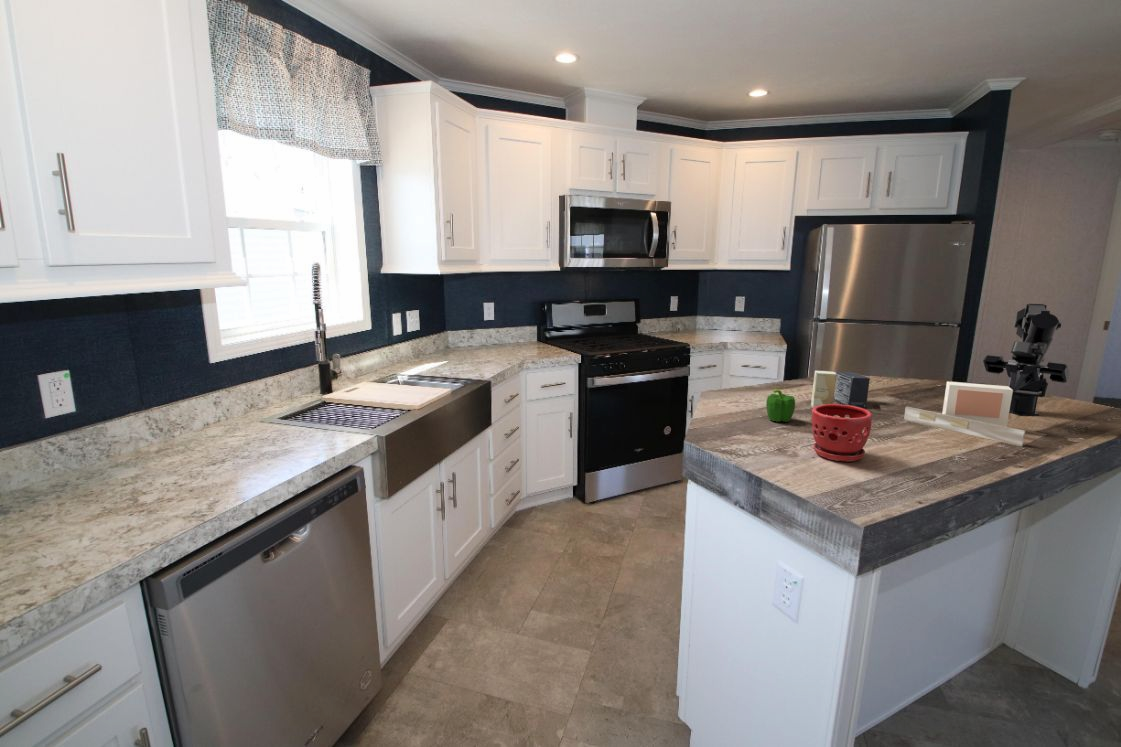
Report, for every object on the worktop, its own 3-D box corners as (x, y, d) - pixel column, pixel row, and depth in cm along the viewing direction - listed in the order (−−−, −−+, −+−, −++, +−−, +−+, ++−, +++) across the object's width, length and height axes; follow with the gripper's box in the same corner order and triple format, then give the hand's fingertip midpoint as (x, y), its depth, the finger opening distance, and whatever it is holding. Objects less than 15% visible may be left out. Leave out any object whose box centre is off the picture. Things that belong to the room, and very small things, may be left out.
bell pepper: (788, 417, 167) (791, 386, 165) (797, 424, 159) (800, 392, 157) (761, 416, 168) (763, 385, 166) (768, 424, 160) (771, 391, 158)
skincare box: (812, 408, 176) (815, 372, 174) (810, 405, 180) (813, 370, 178) (833, 409, 175) (837, 373, 172) (831, 406, 179) (834, 371, 176)
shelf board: (932, 415, 167) (934, 398, 166) (1046, 439, 144) (1049, 420, 143) (903, 424, 158) (905, 407, 157) (1020, 452, 135) (1023, 431, 134)
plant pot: (815, 443, 142) (819, 400, 139) (871, 454, 134) (876, 408, 131) (801, 457, 132) (806, 411, 130) (860, 469, 124) (866, 420, 121)
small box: (867, 408, 177) (871, 377, 175) (848, 408, 177) (851, 377, 175) (851, 400, 187) (854, 371, 185) (832, 400, 187) (835, 371, 185)
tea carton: (939, 418, 158) (945, 379, 156) (998, 425, 152) (1005, 384, 149) (945, 427, 150) (951, 386, 147) (1008, 434, 143) (1015, 391, 141)
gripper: (990, 328, 159) (969, 368, 155) (1073, 334, 143) (1051, 379, 140) (997, 351, 165) (976, 390, 161) (1077, 360, 149) (1056, 403, 146)
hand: (1012, 390), depth 152 cm, fingers closed
